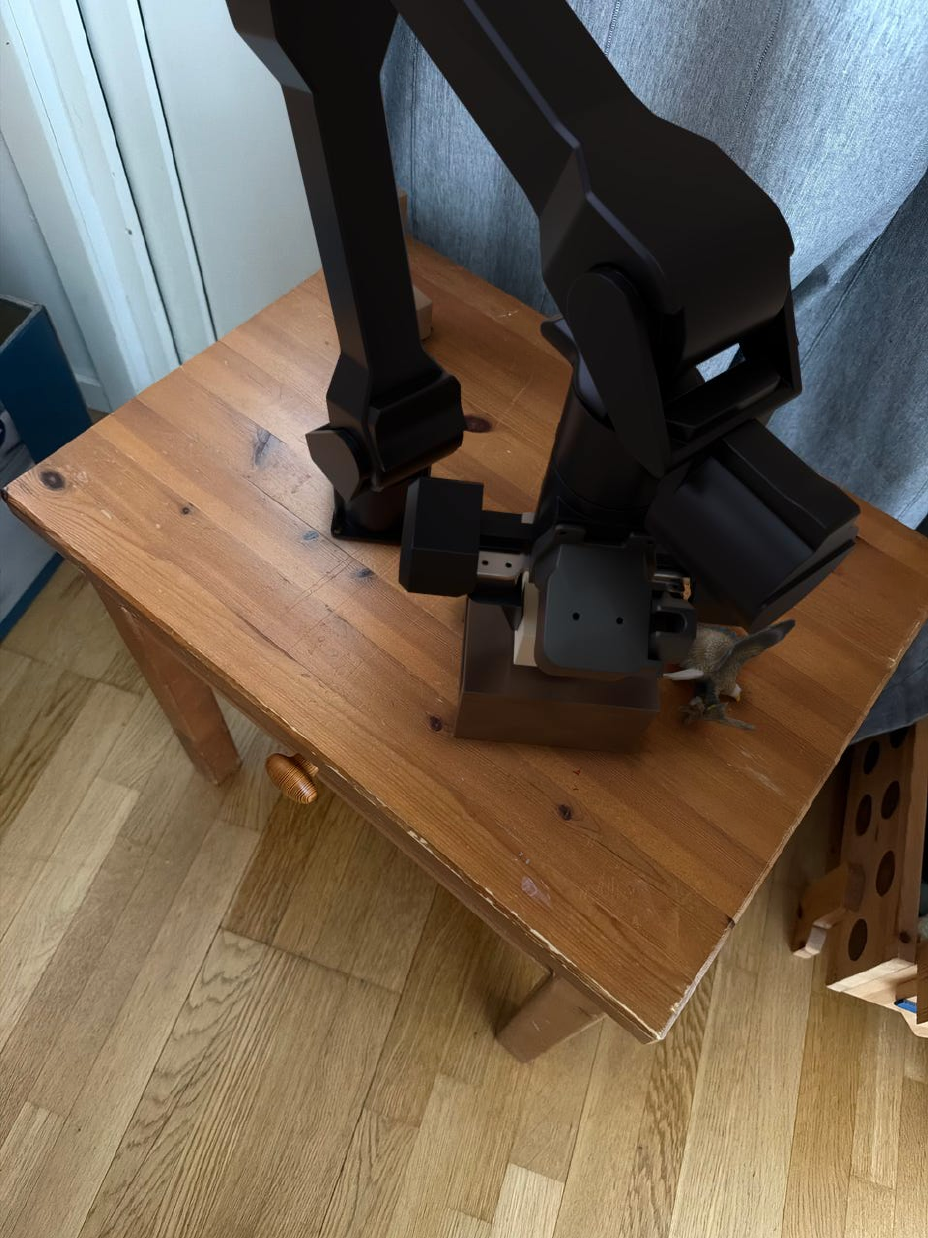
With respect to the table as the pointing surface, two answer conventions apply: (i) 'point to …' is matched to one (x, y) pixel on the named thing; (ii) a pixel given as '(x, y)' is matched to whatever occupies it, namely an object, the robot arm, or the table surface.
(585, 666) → the robot arm
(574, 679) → the dark brown wooden box
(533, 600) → the cream cube with ball
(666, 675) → the eagle figurine
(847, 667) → the table surface
